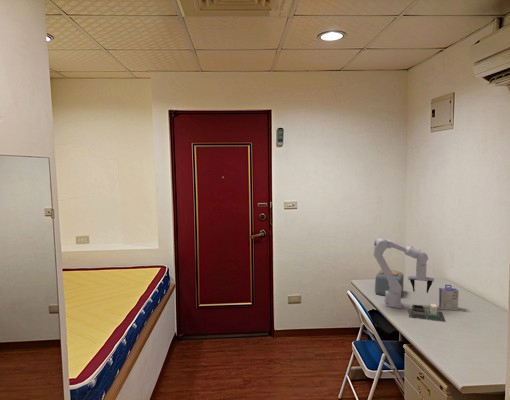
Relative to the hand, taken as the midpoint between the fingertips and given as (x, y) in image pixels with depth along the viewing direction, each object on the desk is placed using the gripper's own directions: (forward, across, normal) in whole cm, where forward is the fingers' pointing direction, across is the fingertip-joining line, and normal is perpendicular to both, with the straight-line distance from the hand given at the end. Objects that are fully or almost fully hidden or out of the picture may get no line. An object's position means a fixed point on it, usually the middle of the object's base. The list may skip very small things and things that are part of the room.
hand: (420, 291), depth 223 cm
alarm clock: (+10, -18, +19) cm, 28 cm away
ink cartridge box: (+10, +16, +2) cm, 19 cm away
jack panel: (+9, +2, -13) cm, 16 cm away
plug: (+9, +6, -13) cm, 17 cm away
